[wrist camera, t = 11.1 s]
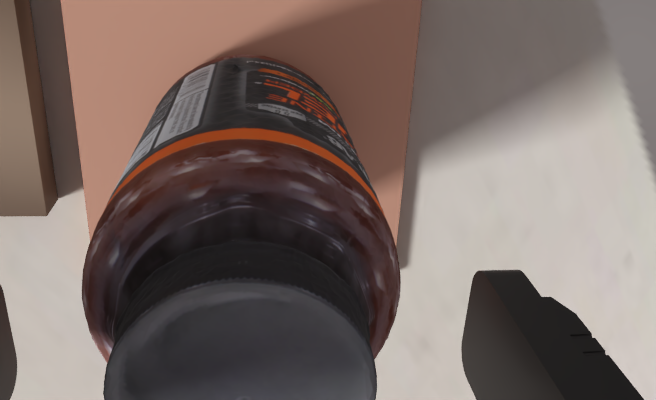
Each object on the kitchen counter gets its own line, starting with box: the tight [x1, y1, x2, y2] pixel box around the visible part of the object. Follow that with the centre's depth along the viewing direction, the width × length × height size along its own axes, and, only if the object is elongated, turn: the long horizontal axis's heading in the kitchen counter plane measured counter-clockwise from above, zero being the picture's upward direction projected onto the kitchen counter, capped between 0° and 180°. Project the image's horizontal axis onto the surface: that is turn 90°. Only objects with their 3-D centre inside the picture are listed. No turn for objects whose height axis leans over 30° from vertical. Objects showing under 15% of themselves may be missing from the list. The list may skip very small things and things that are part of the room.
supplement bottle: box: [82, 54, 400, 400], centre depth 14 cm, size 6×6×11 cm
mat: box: [61, 0, 422, 245], centre depth 20 cm, size 10×10×1 cm
